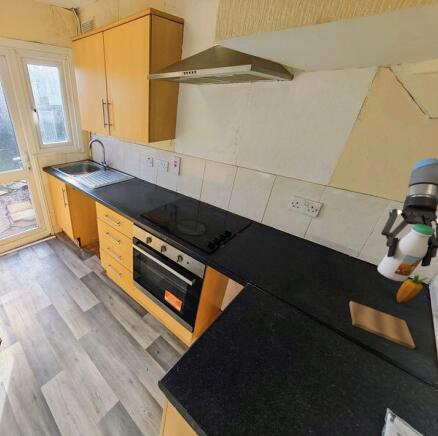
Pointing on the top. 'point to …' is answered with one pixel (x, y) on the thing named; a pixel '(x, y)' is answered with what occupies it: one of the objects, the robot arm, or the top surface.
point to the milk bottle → (407, 253)
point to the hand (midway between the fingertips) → (407, 260)
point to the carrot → (409, 289)
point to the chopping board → (381, 324)
